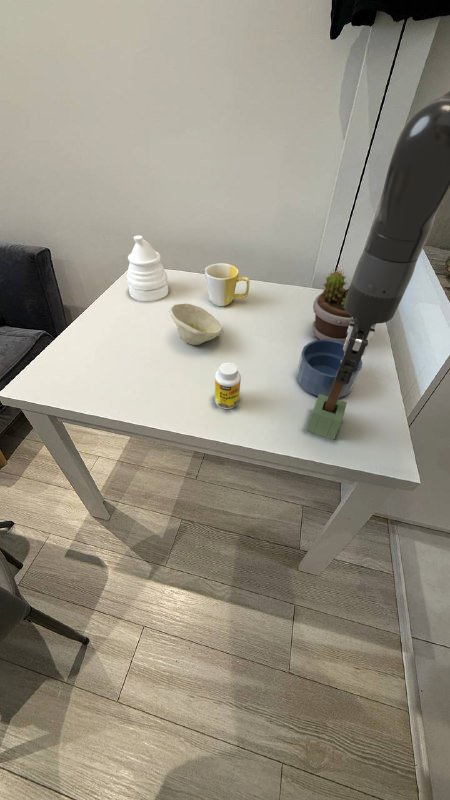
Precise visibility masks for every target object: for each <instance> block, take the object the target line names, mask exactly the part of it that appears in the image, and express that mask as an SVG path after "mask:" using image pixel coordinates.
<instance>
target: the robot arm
mask: <svg viewBox="0 0 450 800" xmlns="http://www.w3.org/2000/svg"><path fill="white" fill-rule="evenodd" d="M449 190H450V90H449V91H447V92H446V93H443V94H442V95H441V96H439V97H437V98H435V99H434V100H433V101H431V102H429V103H427V104H425V105H424V106H423V107H421V108H420V109H418V110H417V111H416V112H415V113H413V114H412V115H411V117H410V118H409V119H408V120H407V122H406V123H405V124H404V126H403V128H402V129H401V131H400V133H399V135H398V137H397V140H396V143H395V146H394V148H393V151H392V154H391V157H390V162H389V165H388V168H387V173H386V177H385V180H384V184H383V187H382V193H381V198H380V203H379V207H378V209H377V212H376V214H375V216H374V218H373V222H372V224H371V227H370V230H369V234H368V236H367V240H366V243H365V246H364V248H363V251H362V253H361V255H360V257H359V259H358V261H357V264H356V266H355V269H354V273H353V276H352V279H351V282H350V285H349V286H350V288H349V287H348V288H349V291H348V294H347V297H346V300H345V303H344V308H345V310H346V312H347V313H348V314H349V315H350V316H351V317H352V318H351V321H350V324H349V327H348V330H347V334H348V335H347V338H346V341H345V344H344V346H343V351H344V356H343V359H342V360H341V362H340V363H341V364H340V366H339V367H340V368H339V371H338V374H337V377H336V381H337V382H339V383H342V384H348V383H349V381H350V378H351V376H352V374H353V373H355V372H356V371H357V369H358V368H357V367H358V365H359V362H360V360H362V358H363V356H365V354H366V351H367V349H368V346H369V343H370V340H372V338H373V337H374V334H375V332H376V326H377V325H379V324H386V323H388V322H389V321H391V320H392V319H393V318H394V316H395V314H396V312H397V310H398V308H399V306H400V303H401V301H402V299H403V297H404V295H405V293H406V290H407V288H408V286H409V285H410V282H411V280H412V277H413V275H414V272H415V269H416V266H417V262H418V260H419V257H420V255H421V253H422V252H423V249H424V247H425V245H426V242H427V239H428V238H429V235H430V233H431V230H432V228H433V225H434V222H435V219H436V215H437V214H438V211H439V209H440V207H441V205H443V202H444V200H445V198H446V196H447V195H448V192H449ZM347 359H351V360H354V361H355V362H354V361H350V360H347Z"/></svg>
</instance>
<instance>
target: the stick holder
mask: <svg viewBox="0 0 450 800" xmlns="http://www.w3.org/2000/svg"><path fill="white" fill-rule="evenodd" d="M327 399H328V396H325V395H322V394H319V396H317V398H316V401H315V405H314V408H313V410H312V412H311V413H312V414H311V416H310V419H309V422H308V424H307V427H306V431H307V432H309V433H313V434H316V435H318V436H321V437H324V438H327V439H330V440H335V438H336V436H337V434H338V432H339V429H340V427H341V424H342V422H343V420H344V415H345V412H346V408H347V404H348V402H346V401H344V400H340V399H338V400H337V403H336V405H335V408H334V410H333V413H331V412H328V411H325V410H324V407H325V404H326V402H327Z"/></svg>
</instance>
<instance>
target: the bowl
mask: <svg viewBox="0 0 450 800" xmlns="http://www.w3.org/2000/svg"><path fill="white" fill-rule="evenodd" d="M168 313H169V314H170V317H171V319H172V321H173V322H174V323H175V325H176V327H177V330H176V331H177V335H178V337H179V338H180V340H182V341H183V342H185V343H187V344H190V345H193V346H199V345H202V344H203V343H205V342H208V341H210V340H213V339H215V338H216V337H218V336H221V335H222V334H224V328H223V326H222V324H221V322H220V321H219V320H218V319H217V318H216V317H215V316H214V315H213V314H211V313H210V312H208V311H207V310H205V309H204V308H202V307H201V306H197V305H194V304H190V303H178V304H174V305H172V306H170V308H169V310H168Z"/></svg>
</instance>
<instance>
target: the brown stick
mask: <svg viewBox="0 0 450 800" xmlns="http://www.w3.org/2000/svg"><path fill="white" fill-rule="evenodd" d="M347 360H350V361H354V360H351V359H347ZM339 368H340V367H339ZM338 371H339V369H338ZM337 374H338V372H337ZM336 377H337V375H336ZM343 386H344V384H342V383H339V382H337V381H336V378H335V380H334V383H333V386H332V388H331V391H330V394H329V396H328V399H327V402H326V404H325V407H324V410H325V411H328V412H331V413H333V410H334V408H335V405H336V403H337V400H339V395H340V393H341V390H342V388H343Z"/></svg>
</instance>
